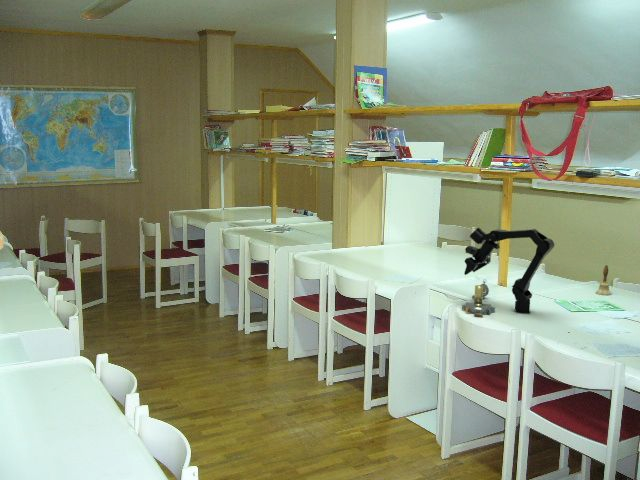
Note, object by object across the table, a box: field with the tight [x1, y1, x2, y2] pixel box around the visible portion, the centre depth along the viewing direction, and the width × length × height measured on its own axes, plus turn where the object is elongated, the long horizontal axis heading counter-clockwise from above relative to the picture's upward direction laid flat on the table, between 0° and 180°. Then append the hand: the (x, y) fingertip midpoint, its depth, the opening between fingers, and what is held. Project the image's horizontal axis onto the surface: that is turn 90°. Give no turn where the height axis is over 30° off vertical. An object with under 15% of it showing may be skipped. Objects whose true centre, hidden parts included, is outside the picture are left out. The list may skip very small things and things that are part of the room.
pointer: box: [473, 313, 484, 319], centre depth 320 cm, size 4×3×1 cm
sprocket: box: [461, 284, 496, 315], centre depth 329 cm, size 16×16×11 cm
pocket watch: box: [471, 278, 490, 299], centre depth 355 cm, size 8×8×10 cm
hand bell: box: [595, 264, 612, 296], centre depth 369 cm, size 8×8×16 cm
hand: (469, 273), depth 346 cm, fingers open, 9 cm apart
